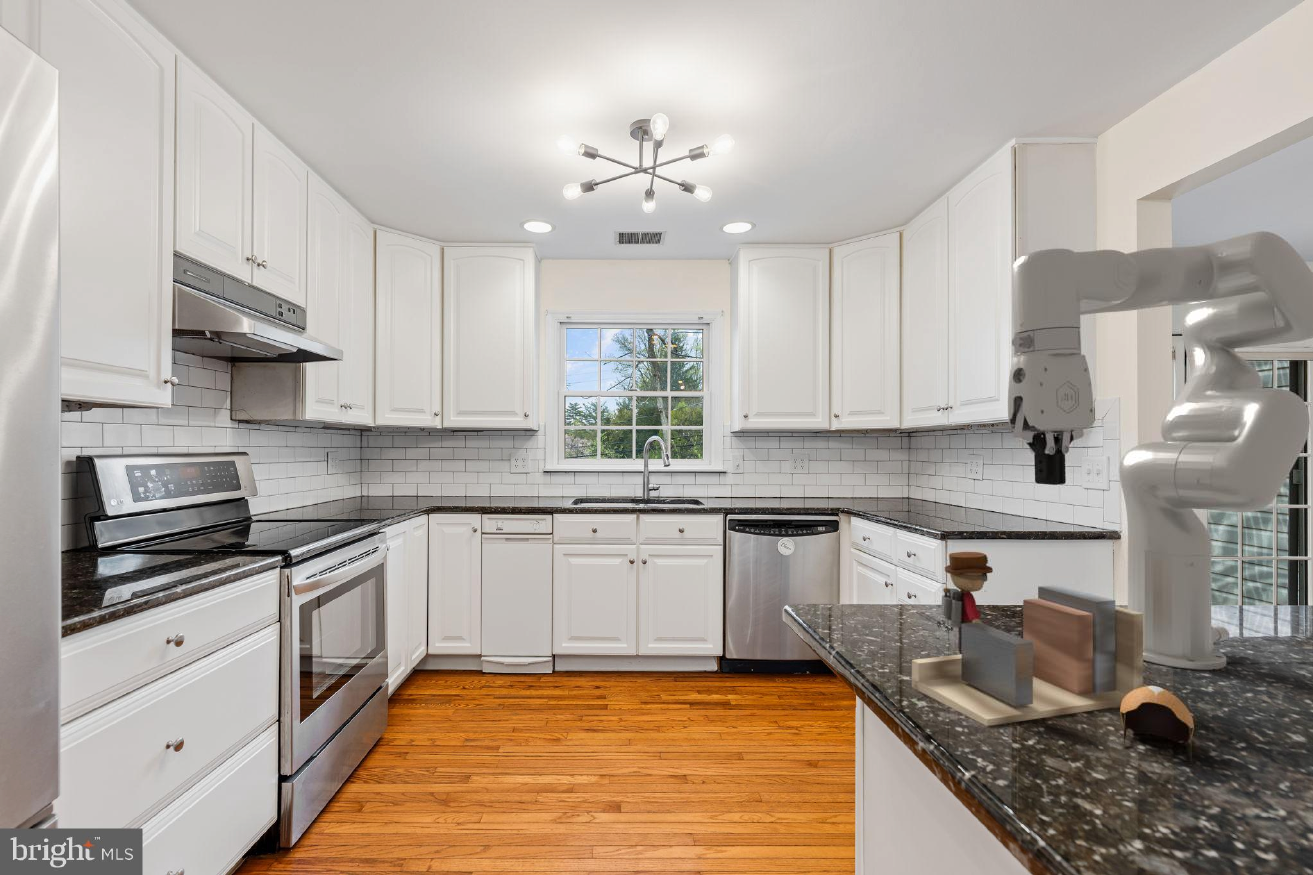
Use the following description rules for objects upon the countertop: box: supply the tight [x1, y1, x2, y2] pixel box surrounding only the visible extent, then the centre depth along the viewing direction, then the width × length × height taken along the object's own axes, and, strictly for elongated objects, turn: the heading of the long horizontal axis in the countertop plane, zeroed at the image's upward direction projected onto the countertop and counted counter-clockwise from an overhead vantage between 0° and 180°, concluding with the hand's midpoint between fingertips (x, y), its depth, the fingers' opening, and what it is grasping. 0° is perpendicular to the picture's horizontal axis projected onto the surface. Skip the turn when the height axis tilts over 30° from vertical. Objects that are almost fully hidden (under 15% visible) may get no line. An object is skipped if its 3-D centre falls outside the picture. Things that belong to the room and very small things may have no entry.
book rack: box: [911, 584, 1144, 727], centre depth 75 cm, size 23×12×12 cm, turn 106°
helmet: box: [1119, 685, 1195, 764], centre depth 62 cm, size 6×7×8 cm
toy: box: [940, 551, 994, 654], centre depth 90 cm, size 11×7×15 cm, turn 168°
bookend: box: [961, 622, 1033, 707], centre depth 73 cm, size 2×8×7 cm, turn 16°
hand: (1050, 483), depth 81 cm, fingers closed
